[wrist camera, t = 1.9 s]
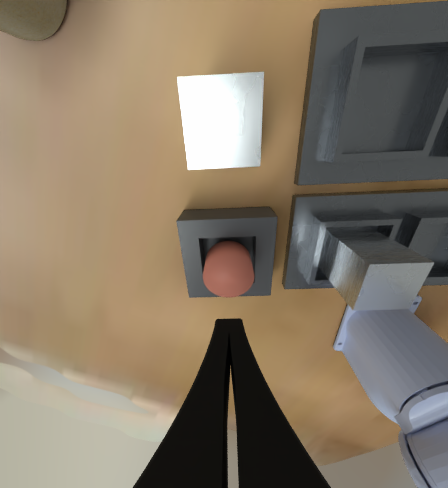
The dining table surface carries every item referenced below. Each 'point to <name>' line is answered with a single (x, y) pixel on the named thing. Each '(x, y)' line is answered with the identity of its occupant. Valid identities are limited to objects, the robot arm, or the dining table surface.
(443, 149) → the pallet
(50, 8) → the flower pot
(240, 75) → the billet
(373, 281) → the billet
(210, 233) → the box
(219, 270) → the button
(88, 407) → the dining table surface
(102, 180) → the dining table surface
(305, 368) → the dining table surface
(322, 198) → the pallet
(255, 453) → the robot arm
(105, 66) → the dining table surface
